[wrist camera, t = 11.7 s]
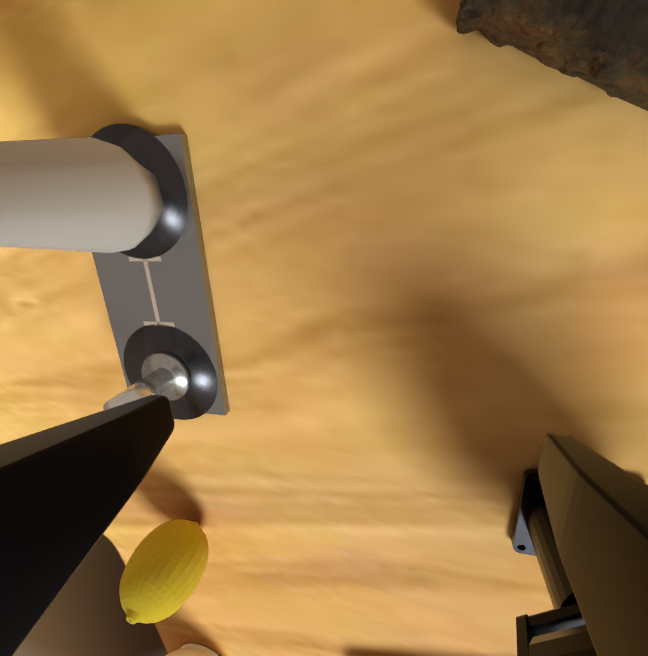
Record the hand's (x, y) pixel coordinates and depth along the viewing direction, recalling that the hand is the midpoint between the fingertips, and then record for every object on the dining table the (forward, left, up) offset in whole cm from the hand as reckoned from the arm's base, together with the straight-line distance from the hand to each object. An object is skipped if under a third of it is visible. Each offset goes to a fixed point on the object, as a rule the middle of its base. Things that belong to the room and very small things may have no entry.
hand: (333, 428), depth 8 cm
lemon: (-21, +16, -13) cm, 30 cm away
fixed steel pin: (-6, +15, -13) cm, 21 cm away
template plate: (0, +15, -13) cm, 20 cm away
